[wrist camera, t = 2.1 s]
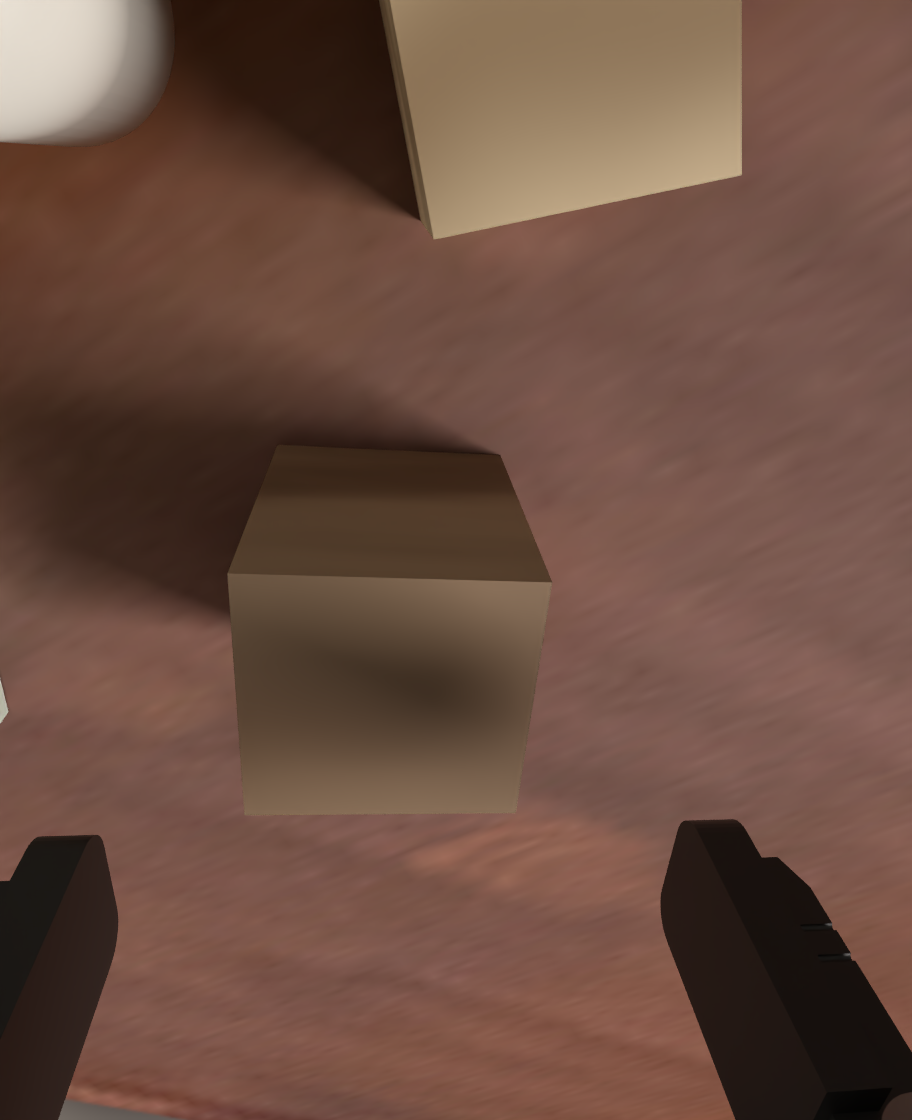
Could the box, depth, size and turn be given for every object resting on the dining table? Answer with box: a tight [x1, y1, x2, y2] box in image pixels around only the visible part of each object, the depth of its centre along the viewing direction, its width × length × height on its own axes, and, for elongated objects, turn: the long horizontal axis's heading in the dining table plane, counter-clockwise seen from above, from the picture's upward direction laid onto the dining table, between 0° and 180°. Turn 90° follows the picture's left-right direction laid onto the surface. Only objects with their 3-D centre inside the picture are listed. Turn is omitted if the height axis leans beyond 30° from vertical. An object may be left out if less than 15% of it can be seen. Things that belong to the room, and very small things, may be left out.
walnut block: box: [227, 445, 552, 815], centre depth 15 cm, size 5×5×6 cm
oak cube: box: [379, 0, 742, 239], centre depth 12 cm, size 4×4×4 cm
